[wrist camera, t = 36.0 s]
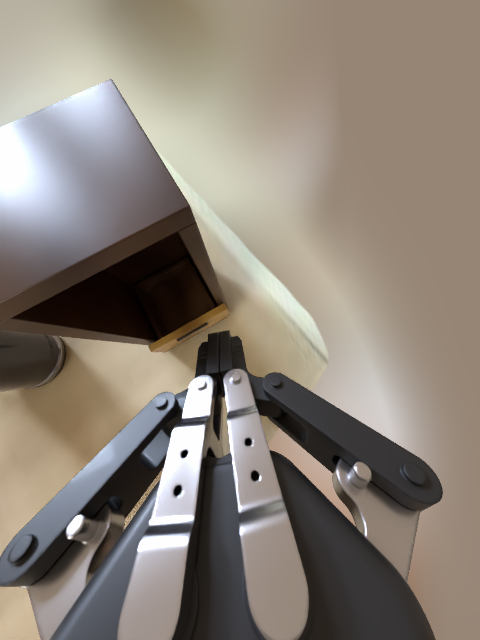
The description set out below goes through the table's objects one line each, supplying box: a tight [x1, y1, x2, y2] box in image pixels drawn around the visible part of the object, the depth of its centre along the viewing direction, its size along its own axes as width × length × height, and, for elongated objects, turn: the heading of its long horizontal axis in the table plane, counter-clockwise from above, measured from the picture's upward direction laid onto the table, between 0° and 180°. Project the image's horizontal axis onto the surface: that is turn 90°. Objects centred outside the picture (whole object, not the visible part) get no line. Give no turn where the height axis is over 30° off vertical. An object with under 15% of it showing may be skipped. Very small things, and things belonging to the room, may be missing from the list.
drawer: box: [133, 257, 230, 352], centre depth 28 cm, size 12×11×4 cm
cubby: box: [0, 79, 228, 345], centre depth 21 cm, size 13×11×22 cm
